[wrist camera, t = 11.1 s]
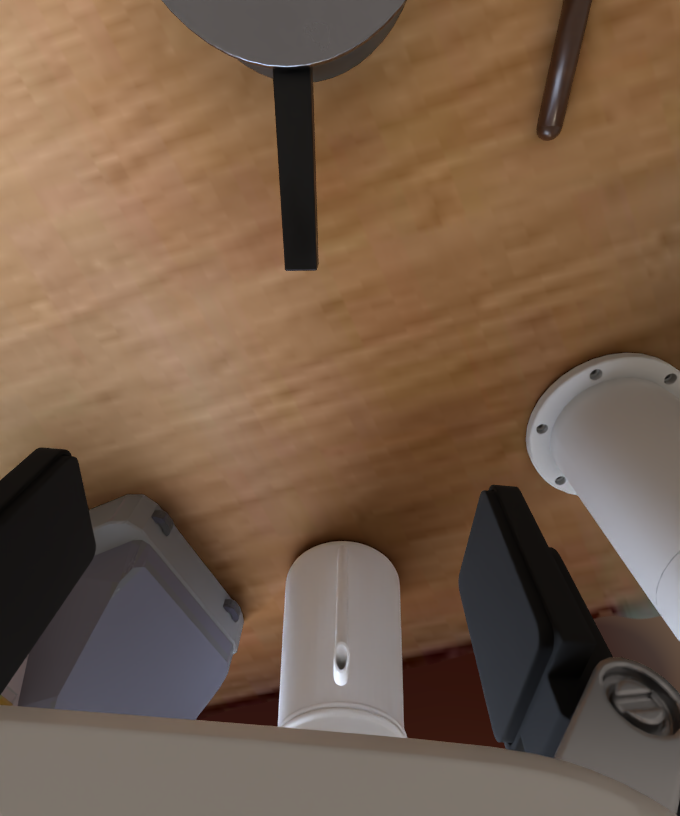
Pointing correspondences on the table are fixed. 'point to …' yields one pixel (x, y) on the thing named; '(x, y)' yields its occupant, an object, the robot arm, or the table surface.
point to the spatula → (562, 67)
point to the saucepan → (293, 80)
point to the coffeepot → (342, 643)
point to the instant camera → (134, 625)
